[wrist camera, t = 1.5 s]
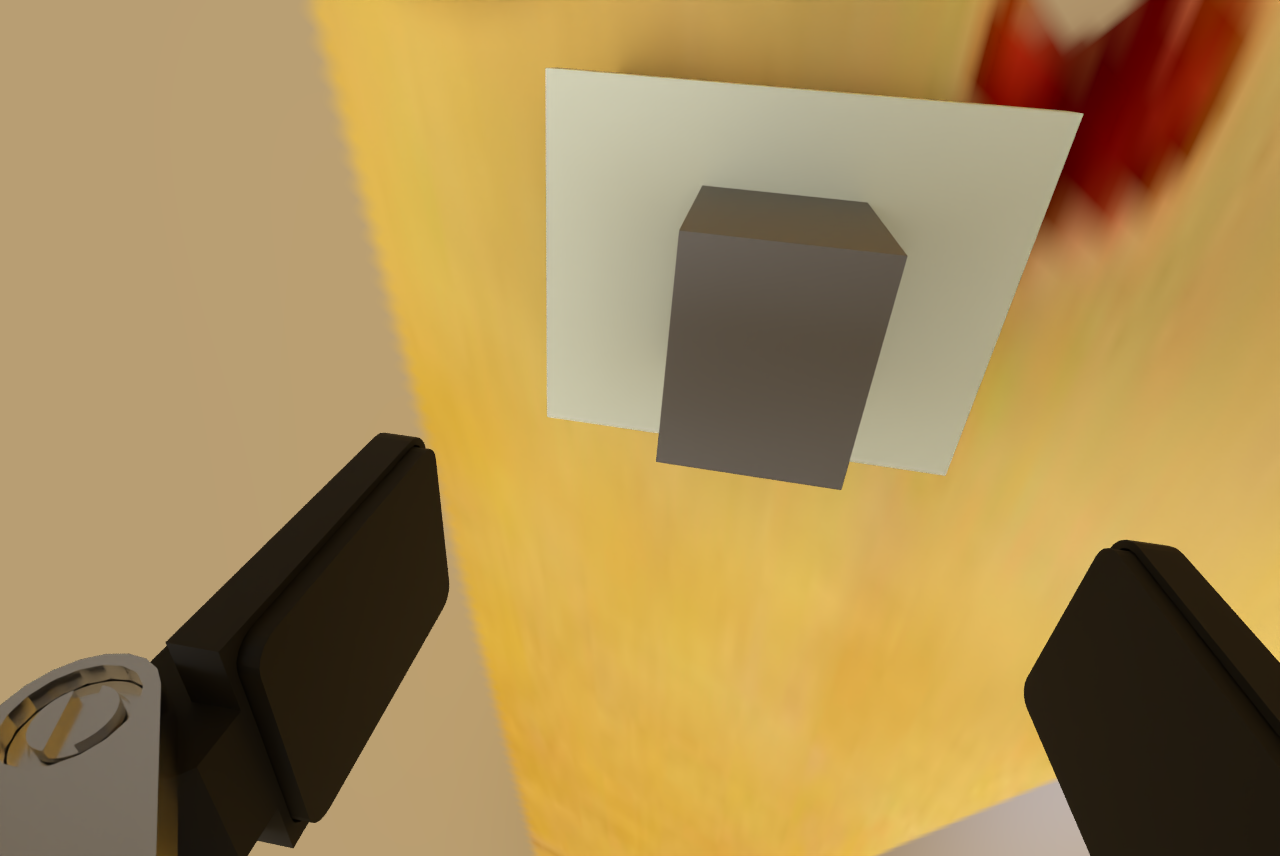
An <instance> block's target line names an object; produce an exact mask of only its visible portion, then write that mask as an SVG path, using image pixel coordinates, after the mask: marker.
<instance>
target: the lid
mask: <svg viewBox="0 0 1280 856" xmlns="http://www.w3.org/2000/svg"><path fill="white" fill-rule="evenodd" d="M1082 116H1083V114H1082V113H1076V112H1069V111H1061V110H1050V109H1038V108H1026V107H1014V106H1003V105H991V104H979V103H967V102H956V101H944V100H932V99H920V98H908V97H897V96H885V95H873V94H861V93H850V92H838V91H826V90H814V89H803V88H791V87H779V86H767V85H755V84H744V83H732V82H720V81H708V80H697V79H685V78H673V77H661V76H650V75H638V74H626V73H614V72H602V71H591V70H579V69H567V68H546V281H547V417H552V418H558V419H565V420H572V421H579V422H585V423H592V424H599V425H606V426H613V427H619V428H626V429H633V430H640V431H646V432H653V433H659V437H658V447H657V457H656V462H661V463H667V464H674V465H681V466H687V467H694V468H700V469H707V470H713V471H720V472H726V473H733V474H739V475H746V476H753V477H759V478H766V479H772V480H779V481H785V482H792V483H798V484H805V485H812V486H818V487H825V488H831V489H838V490H841V489H842V486H843V482H844V479H845V475H846V471H847V468H848V464H849V461H850V462H856V463H863V464H870V465H877V466H883V467H890V468H897V469H904V470H911V471H917V472H924V473H931V474H938V475H944V476H946V473H947V471H948V468H949V465H950V463H951V460H952V457H953V455H954V452H955V450H956V447H957V444H958V442H959V439H960V436H961V434H962V431H963V429H964V426H965V423H966V421H967V418H968V415H969V413H970V410H971V408H972V405H973V402H974V400H975V397H976V394H977V392H978V389H979V387H980V384H981V381H982V379H983V376H984V373H985V371H986V368H987V366H988V363H989V360H990V358H991V355H992V352H993V350H994V347H995V345H996V342H997V339H998V337H999V334H1000V331H1001V329H1002V326H1003V324H1004V321H1005V318H1006V316H1007V313H1008V310H1009V308H1010V305H1011V303H1012V300H1013V297H1014V295H1015V292H1016V289H1017V287H1018V284H1019V282H1020V279H1021V276H1022V274H1023V271H1024V268H1025V266H1026V263H1027V261H1028V258H1029V255H1030V253H1031V250H1032V247H1033V245H1034V242H1035V240H1036V237H1037V234H1038V232H1039V229H1040V226H1041V224H1042V221H1043V219H1044V216H1045V213H1046V211H1047V208H1048V205H1049V203H1050V200H1051V197H1052V195H1053V192H1054V190H1055V187H1056V184H1057V182H1058V179H1059V176H1060V174H1061V171H1062V169H1063V166H1064V163H1065V161H1066V158H1067V155H1068V153H1069V150H1070V148H1071V145H1072V142H1073V140H1074V137H1075V134H1076V132H1077V129H1078V127H1079V124H1080V121H1081V119H1082Z"/></svg>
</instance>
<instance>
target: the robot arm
mask: <svg viewBox="0 0 1280 856" xmlns="http://www.w3.org/2000/svg"><path fill="white" fill-rule="evenodd" d="M448 592H449V577H448V568H447V558H446V549H445V539H444V530H443V521H442V512H441V502H440V493H439V484H438V475H437V465H436V458H435V454H434V452H433V451H432V450H431V449H426V448H425V444H424V442H423V441H422V440H421V439H420V438H417V437H410V436H404V435H397V434H390V433H380V434H378V435H377V436H375V437H374V438H373V439H372V440H371V441H370V442H369V443H368V444H367V445H366V446H365V447H364V448H363V449H362V450H361V451H360V452H359V453H358V454H357V455H356V456H355V457H354V458H353V459H352V460H351V461H350V462H349V463H348V464H347V465H346V466H345V467H344V468H343V469H342V470H341V471H340V472H339V473H338V474H337V475H335V476H334V477H333V478H332V479H331V480H330V481H329V482H328V483H327V485H325V486H324V487H323V488H322V489H321V490H320V491H319V492H318V493H317V494H316V495H315V496H314V497H313V498H312V499H311V500H310V501H309V502H308V503H307V504H306V505H305V506H304V507H303V508H302V509H301V510H300V511H299V512H298V513H297V514H296V515H295V516H294V517H293V518H292V519H291V520H290V521H289V522H288V523H287V524H286V525H285V526H284V527H283V528H282V529H281V530H280V531H278V533H276V534H275V535H274V536H273V537H272V538H271V539H270V540H269V541H268V542H267V543H266V544H265V545H264V546H263V547H262V548H261V549H260V550H259V551H258V552H257V553H256V554H255V555H254V556H253V557H252V558H251V559H250V560H249V561H248V562H247V563H246V564H245V565H244V566H243V567H242V568H241V569H240V570H239V571H238V572H237V573H236V574H235V575H234V576H233V577H232V578H231V579H230V580H229V581H228V582H227V583H226V584H225V585H224V586H223V587H221V588H220V589H219V591H217V592H216V594H214V595H213V596H212V597H211V598H210V599H209V601H207V602H206V603H205V604H204V605H203V606H202V607H201V608H200V609H199V610H198V611H197V612H196V613H195V614H194V615H193V616H192V617H191V618H190V619H189V620H188V621H187V622H186V623H185V624H184V625H183V626H182V627H181V628H180V629H179V630H178V631H177V632H176V633H175V634H174V635H173V636H172V637H171V638H170V639H169V640H168V641H167V642H166V644H167V646H166V647H165V648H164V649H163V650H162V651H161V652H160V653H159V654H158V655H157V656H156V657H155V658H154V659H153V660H152V661H151V662H149V661H148V660H147V659H146V658H142V657H139V656H135V655H132V654H103V655H99V656H94V657H89V658H85V659H80V660H78V661H75V662H73V663H70V664H67V665H65V666H62V667H59V668H57V669H54V670H52V671H50V672H48V673H47V674H45V675H43V676H41V677H40V678H38V679H36V680H34V681H32V682H31V683H29V684H27V685H25V686H24V687H23V688H21V689H20V690H19V691H18V692H16V693H15V694H14V695H12V696H11V697H10V698H9V699H7V700H6V701H5V702H3V703H2V704H1V705H0V856H248V854H249V853H250V851H251V849H252V848H253V846H254V845H255V843H256V842H257V841H262V842H266V843H271V844H276V845H280V846H285V847H290V848H294V846H295V845H296V843H297V841H298V839H299V838H300V836H301V834H302V832H303V831H304V829H305V828H306V826H307V824H308V823H309V822H312V823H316V822H318V821H320V820H321V819H322V817H323V816H324V815H325V814H326V813H327V811H328V809H329V808H330V806H331V805H332V803H333V801H334V799H335V798H336V796H337V794H338V792H339V791H340V789H341V787H342V785H343V784H344V782H345V780H346V778H347V776H348V775H349V773H350V771H351V769H352V768H353V766H354V764H355V762H356V761H357V759H358V757H359V755H360V754H361V752H362V750H363V748H364V747H365V745H366V743H367V741H368V740H369V738H370V736H371V734H372V733H373V731H374V729H375V727H376V725H377V724H378V722H379V720H380V718H381V717H382V715H383V713H384V711H385V710H386V708H387V706H388V704H389V703H390V701H391V699H392V697H393V696H394V694H395V692H396V690H397V689H398V687H399V685H400V683H401V681H402V680H403V678H404V676H405V675H406V673H407V671H408V669H409V667H410V666H411V664H412V662H413V660H414V659H415V657H416V655H417V653H418V652H419V650H420V648H421V646H422V645H423V643H424V641H425V639H426V637H427V636H428V634H429V632H430V630H431V629H432V627H433V625H434V624H435V622H436V620H437V618H438V616H439V615H440V613H441V611H442V610H443V607H444V605H445V603H446V600H447V597H448ZM1024 698H1025V704H1026V707H1027V709H1028V712H1029V714H1030V716H1031V719H1032V721H1033V723H1034V726H1035V728H1036V730H1037V733H1038V735H1039V737H1040V740H1041V742H1042V744H1043V747H1044V749H1045V751H1046V754H1047V756H1048V758H1049V761H1050V763H1051V765H1052V768H1053V770H1054V772H1055V774H1056V777H1057V779H1058V781H1059V783H1060V786H1061V788H1062V790H1063V793H1064V795H1065V798H1066V800H1067V802H1068V805H1069V807H1070V809H1071V812H1072V814H1073V816H1074V819H1075V821H1076V823H1077V826H1078V828H1079V830H1080V833H1081V835H1082V837H1083V840H1084V842H1085V844H1086V846H1087V849H1088V851H1089V853H1090V856H1280V663H1279V661H1278V660H1277V659H1276V658H1275V657H1274V656H1273V655H1272V654H1271V652H1270V651H1269V650H1268V649H1267V648H1266V647H1265V646H1264V645H1263V643H1262V642H1261V641H1260V640H1259V639H1258V638H1257V637H1256V636H1255V634H1254V633H1253V632H1252V631H1251V630H1250V629H1249V628H1248V627H1247V625H1246V624H1245V623H1244V622H1243V621H1242V620H1241V619H1240V618H1239V616H1238V615H1237V614H1236V613H1235V612H1234V611H1233V610H1232V609H1231V607H1230V606H1229V605H1228V604H1227V603H1226V602H1225V601H1224V600H1223V598H1222V597H1221V596H1220V595H1219V594H1218V593H1217V592H1216V591H1215V589H1214V588H1213V587H1212V586H1211V585H1210V584H1209V583H1208V582H1207V580H1206V579H1205V578H1204V577H1203V576H1202V575H1201V574H1200V573H1199V571H1198V570H1197V569H1196V568H1195V567H1194V566H1193V565H1192V563H1191V562H1190V561H1189V560H1188V559H1187V558H1186V557H1185V556H1184V554H1183V553H1181V552H1180V551H1179V550H1178V549H1176V548H1174V547H1170V546H1166V545H1159V544H1152V543H1145V542H1138V541H1131V540H1121V541H1118V542H1117V543H1115V544H1114V545H1113V546H1112V547H1111V548H1106V549H1103V550H1101V551H1100V552H1099V553H1098V554H1097V556H1096V557H1095V559H1094V561H1093V562H1092V564H1091V566H1090V568H1089V569H1088V571H1087V573H1086V575H1085V576H1084V578H1083V580H1082V582H1081V583H1080V585H1079V587H1078V589H1077V591H1076V592H1075V594H1074V596H1073V598H1072V599H1071V601H1070V603H1069V605H1068V606H1067V608H1066V610H1065V612H1064V614H1063V615H1062V617H1061V619H1060V621H1059V622H1058V624H1057V626H1056V628H1055V629H1054V631H1053V633H1052V635H1051V636H1050V638H1049V640H1048V642H1047V644H1046V645H1045V647H1044V649H1043V651H1042V652H1041V654H1040V656H1039V658H1038V659H1037V661H1036V663H1035V665H1034V667H1033V668H1032V670H1031V672H1030V674H1029V675H1028V677H1027V679H1026V682H1025V686H1024Z"/></svg>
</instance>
